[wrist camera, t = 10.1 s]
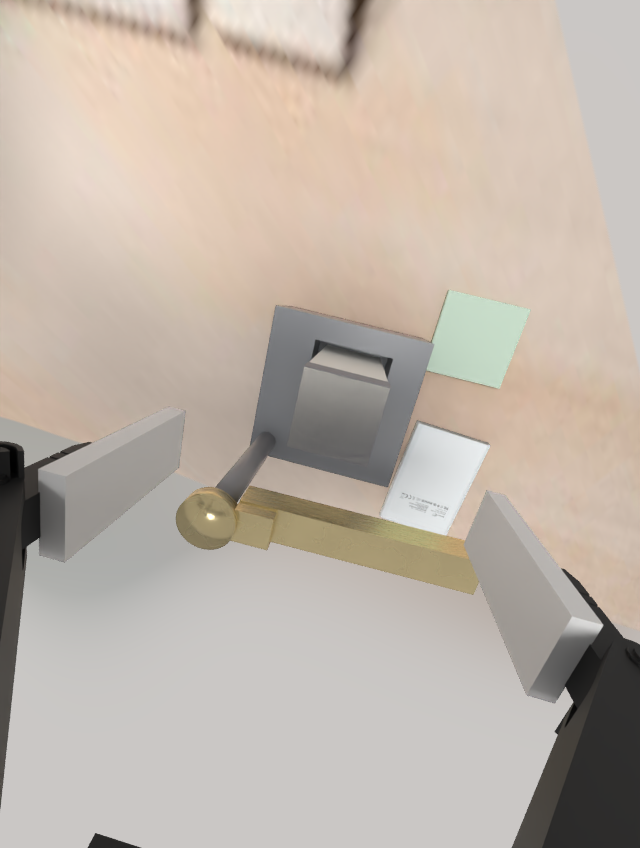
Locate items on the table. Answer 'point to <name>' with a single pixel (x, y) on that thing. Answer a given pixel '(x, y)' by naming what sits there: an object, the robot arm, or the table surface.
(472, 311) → the pad
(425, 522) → the external hard drive
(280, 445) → the socket block
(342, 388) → the plug
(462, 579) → the clip
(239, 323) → the table surface
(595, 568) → the table surface
